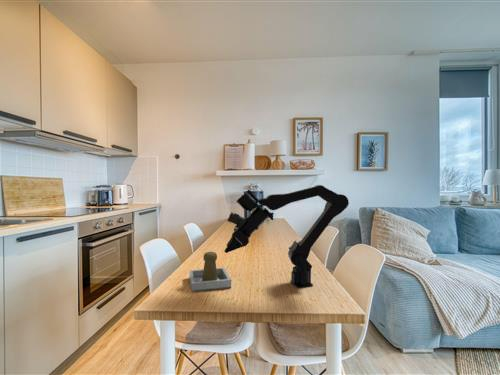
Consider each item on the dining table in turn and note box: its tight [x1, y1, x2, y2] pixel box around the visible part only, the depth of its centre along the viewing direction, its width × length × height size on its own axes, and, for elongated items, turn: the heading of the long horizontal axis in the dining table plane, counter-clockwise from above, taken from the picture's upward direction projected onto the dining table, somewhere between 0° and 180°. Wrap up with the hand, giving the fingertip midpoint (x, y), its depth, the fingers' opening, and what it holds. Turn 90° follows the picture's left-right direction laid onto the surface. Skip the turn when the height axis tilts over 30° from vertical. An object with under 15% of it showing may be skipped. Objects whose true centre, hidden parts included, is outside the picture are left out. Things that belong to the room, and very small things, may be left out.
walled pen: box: [189, 267, 232, 293], centre depth 95 cm, size 14×14×3 cm
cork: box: [202, 251, 218, 281], centre depth 95 cm, size 6×6×11 cm
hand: (226, 248), depth 95 cm, fingers open, 9 cm apart
